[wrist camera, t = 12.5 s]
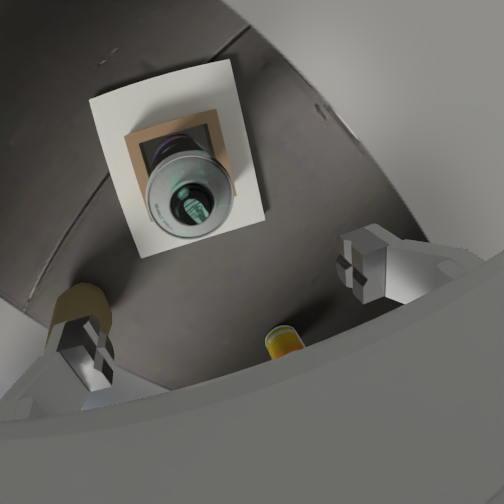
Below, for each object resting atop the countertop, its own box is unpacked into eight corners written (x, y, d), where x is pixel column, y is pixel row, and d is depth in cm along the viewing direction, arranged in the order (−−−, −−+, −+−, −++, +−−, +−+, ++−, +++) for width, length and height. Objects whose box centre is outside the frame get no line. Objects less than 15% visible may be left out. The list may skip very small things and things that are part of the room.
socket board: (91, 100, 30) (79, 98, 25) (227, 61, 32) (237, 52, 27) (141, 253, 39) (139, 274, 34) (261, 216, 41) (275, 231, 36)
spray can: (165, 126, 32) (165, 143, 15) (210, 144, 34) (262, 182, 17) (147, 172, 34) (128, 241, 16) (191, 188, 36) (221, 270, 18)
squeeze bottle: (109, 329, 42) (98, 430, 27) (58, 314, 39) (27, 411, 24) (120, 283, 40) (105, 384, 24) (65, 266, 37) (21, 360, 21)
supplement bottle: (257, 339, 50) (276, 383, 41) (283, 318, 49) (307, 359, 41) (276, 354, 52) (297, 395, 44) (301, 334, 52) (325, 374, 43)
